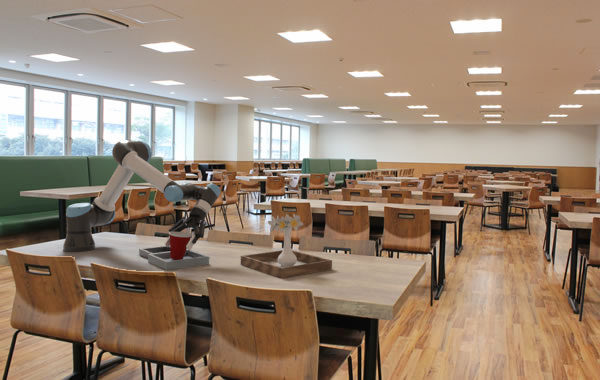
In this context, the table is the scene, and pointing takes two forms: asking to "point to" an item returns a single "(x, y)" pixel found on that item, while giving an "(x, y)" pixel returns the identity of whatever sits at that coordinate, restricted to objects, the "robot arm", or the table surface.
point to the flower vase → (286, 237)
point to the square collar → (153, 250)
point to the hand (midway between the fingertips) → (176, 247)
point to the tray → (168, 263)
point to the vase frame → (313, 266)
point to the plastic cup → (178, 244)
